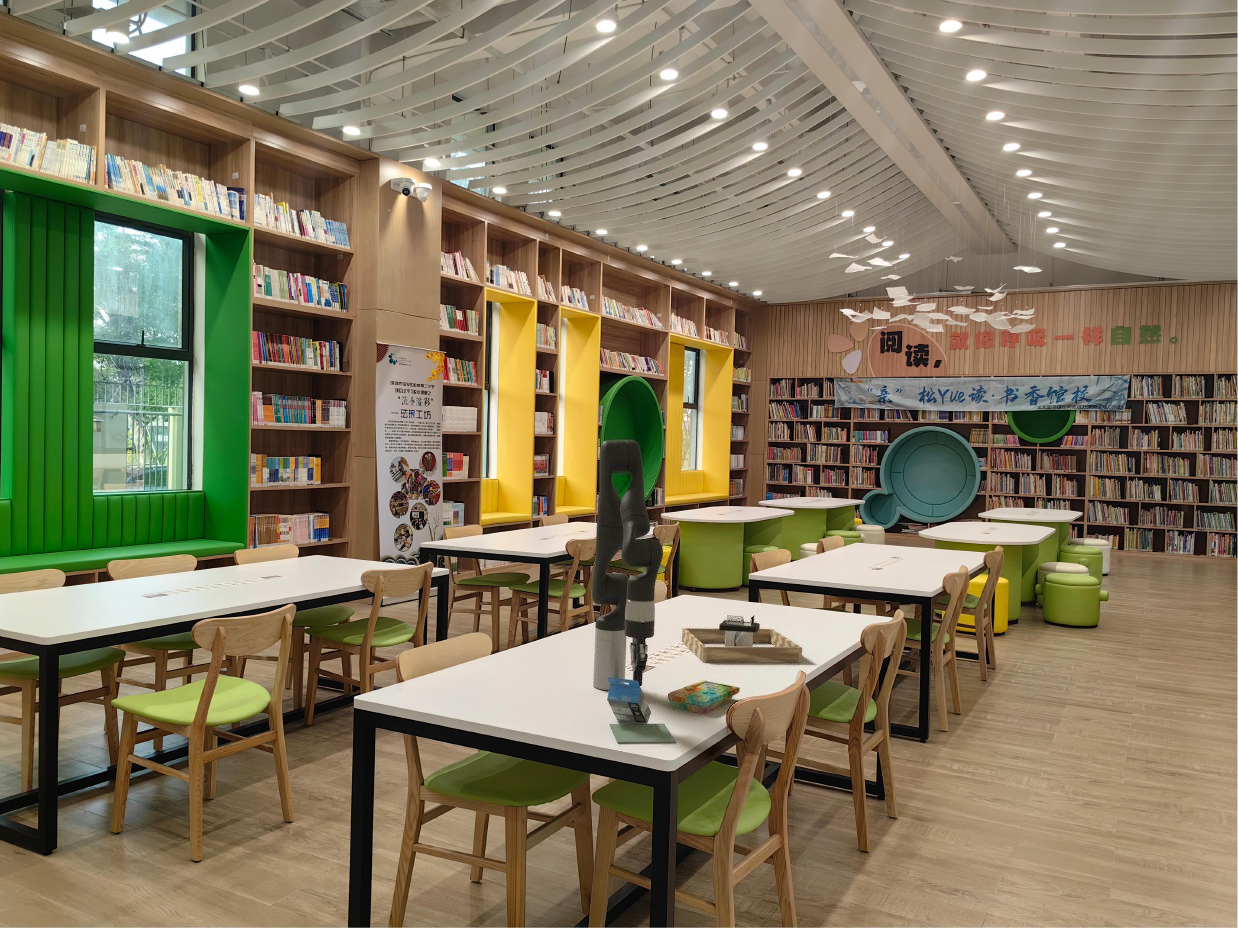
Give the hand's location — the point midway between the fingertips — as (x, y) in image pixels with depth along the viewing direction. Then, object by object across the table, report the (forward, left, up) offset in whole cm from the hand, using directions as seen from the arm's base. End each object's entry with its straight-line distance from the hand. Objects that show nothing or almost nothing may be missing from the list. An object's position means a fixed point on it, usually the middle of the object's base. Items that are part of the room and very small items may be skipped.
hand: (637, 685), depth 229 cm
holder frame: (-83, +51, -10) cm, 98 cm away
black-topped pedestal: (-84, +51, -10) cm, 99 cm away
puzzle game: (-18, +22, -10) cm, 30 cm away
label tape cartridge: (-2, 0, -9) cm, 9 cm away
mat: (+8, 0, -10) cm, 13 cm away
